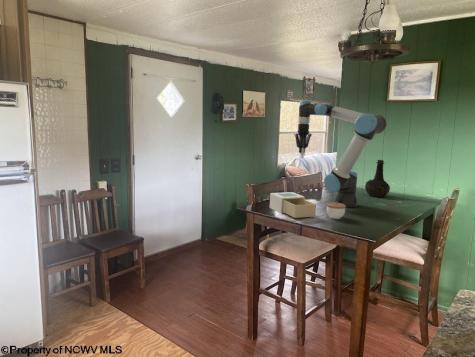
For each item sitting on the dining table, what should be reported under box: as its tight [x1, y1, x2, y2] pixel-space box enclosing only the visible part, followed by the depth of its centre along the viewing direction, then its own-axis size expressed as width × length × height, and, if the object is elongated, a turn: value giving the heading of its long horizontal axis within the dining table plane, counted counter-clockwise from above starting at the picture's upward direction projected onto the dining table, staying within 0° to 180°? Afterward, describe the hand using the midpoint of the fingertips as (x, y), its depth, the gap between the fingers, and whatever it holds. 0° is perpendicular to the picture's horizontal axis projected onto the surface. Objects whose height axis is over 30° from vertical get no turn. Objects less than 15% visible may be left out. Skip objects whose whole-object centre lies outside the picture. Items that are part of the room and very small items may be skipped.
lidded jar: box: [326, 202, 347, 220], centre depth 210 cm, size 11×11×9 cm
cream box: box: [269, 191, 306, 214], centre depth 223 cm, size 14×16×10 cm
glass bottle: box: [364, 159, 391, 198], centre depth 277 cm, size 18×18×28 cm
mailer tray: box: [282, 198, 317, 219], centre depth 217 cm, size 26×14×7 cm, turn 23°
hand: (301, 157), depth 253 cm, fingers closed
